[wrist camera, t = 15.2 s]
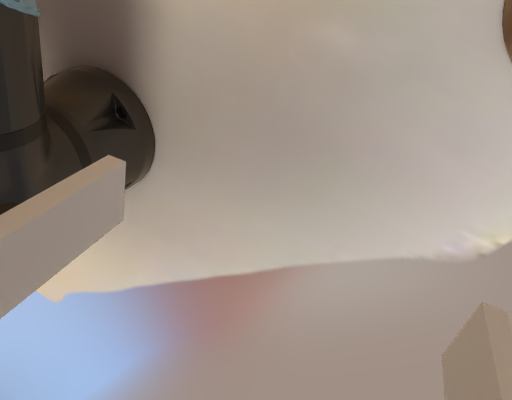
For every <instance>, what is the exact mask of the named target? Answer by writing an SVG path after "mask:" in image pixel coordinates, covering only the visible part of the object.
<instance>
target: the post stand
mask: <svg viewBox="0 0 512 400" xmlns="http://www.w3.org/2000/svg"><path fill="white" fill-rule="evenodd" d="M503 34H504V41H505V45H506V48H507V52H508V54H509V57H510V59H511V61H512V0H505V3H504V9H503Z"/></svg>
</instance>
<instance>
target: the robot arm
mask: <svg viewBox="0 0 512 400" xmlns="http://www.w3.org/2000/svg"><path fill="white" fill-rule="evenodd" d="M38 16H40V9H39V7H38V6H37V3H36V0H0V319H1V318H2V317H3V316H4V315H6V314H7V313H8V312H9V311H10V310H12V309H13V308H14V307H16V306H17V305H18V304H19V303H21V302H22V301H23V300H24V299H26V298H27V297H28V296H29V295H31V294H32V293H33V292H34V291H36V290H37V289H38V288H39V287H40V286H42V285H43V284H44V283H45V282H47V281H48V280H49V279H50V278H52V277H53V276H54V275H55V274H57V273H58V272H59V271H60V270H62V269H63V268H64V267H65V266H67V265H68V264H69V263H70V262H72V261H73V260H74V259H75V258H76V257H78V256H79V255H80V254H81V253H83V252H84V251H85V250H86V249H88V248H89V247H90V246H91V245H93V244H94V243H95V242H96V241H98V240H99V239H100V238H101V237H103V236H104V235H105V234H106V233H108V232H109V231H110V230H111V229H112V228H114V227H115V226H116V225H117V224H119V223H120V222H121V221H122V220H123V213H124V193H125V190H126V189H128V188H129V187H131V186H132V185H134V184H135V183H137V182H138V181H140V180H141V179H142V178H143V177H144V176H145V175H146V173H147V172H148V170H149V168H150V166H151V164H152V161H153V156H154V136H153V131H152V127H151V123H150V121H149V118H148V116H147V113H146V111H145V109H144V108H143V106H142V104H141V103H140V101H139V100H138V98H137V97H136V96H135V94H134V93H133V92H132V91H131V90H130V89H129V88H128V87H127V86H126V85H125V84H124V83H123V82H122V81H121V80H119V79H118V78H117V77H115V76H114V75H112V74H110V73H108V72H106V71H104V70H102V69H98V68H95V67H89V66H80V67H75V68H71V69H67V70H63V71H60V72H58V73H56V74H54V75H52V76H51V77H49V78H48V79H47V80H46V81H45V82H43V70H42V59H41V47H40V36H39V24H38ZM442 367H443V381H444V396H445V400H512V329H511V326H510V321H509V318H508V314H507V312H506V311H503V310H501V309H498V308H496V307H493V306H491V305H488V304H486V303H483V302H482V303H481V304H480V306H479V307H478V308H477V309H476V311H475V312H474V313H473V315H472V316H471V317H470V319H469V320H468V321H467V323H466V324H465V325H464V326H463V328H462V329H461V330H460V332H459V333H458V334H457V336H456V337H455V338H454V340H453V341H452V342H451V344H450V345H449V346H448V348H447V349H446V350H445V352H444V353H443V354H442Z"/></svg>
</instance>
